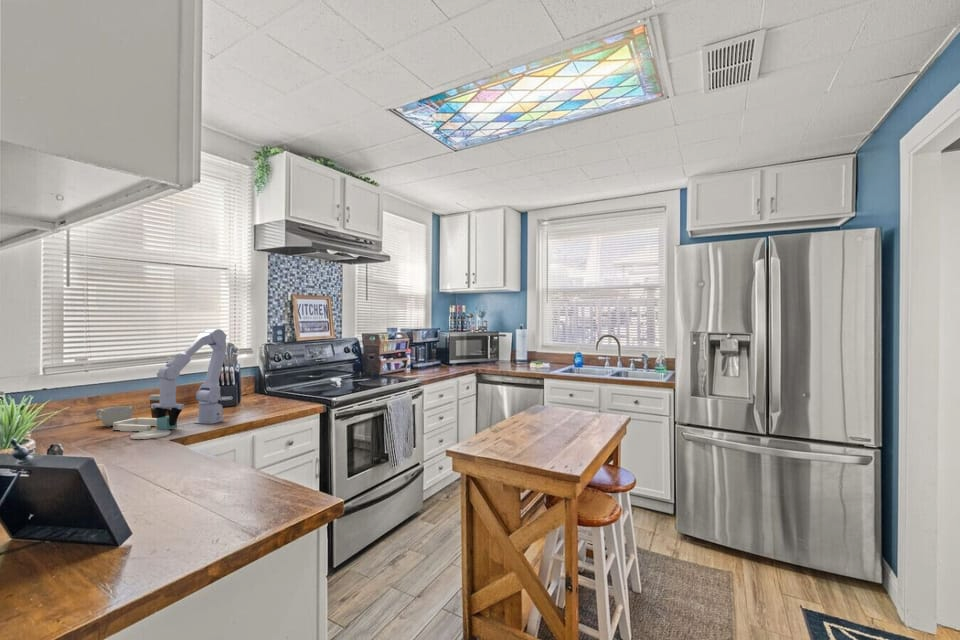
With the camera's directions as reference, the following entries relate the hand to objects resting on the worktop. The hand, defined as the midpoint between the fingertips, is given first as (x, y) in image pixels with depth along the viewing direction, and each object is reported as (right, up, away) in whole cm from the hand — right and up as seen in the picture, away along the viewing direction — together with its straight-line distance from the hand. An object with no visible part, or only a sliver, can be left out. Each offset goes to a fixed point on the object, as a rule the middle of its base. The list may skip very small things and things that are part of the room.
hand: (167, 425), depth 184 cm
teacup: (-30, -2, +8) cm, 31 cm away
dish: (+2, -2, -12) cm, 12 cm away
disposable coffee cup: (-20, -3, +22) cm, 30 cm away
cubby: (-13, -2, +2) cm, 13 cm away
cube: (0, -1, 0) cm, 1 cm away
